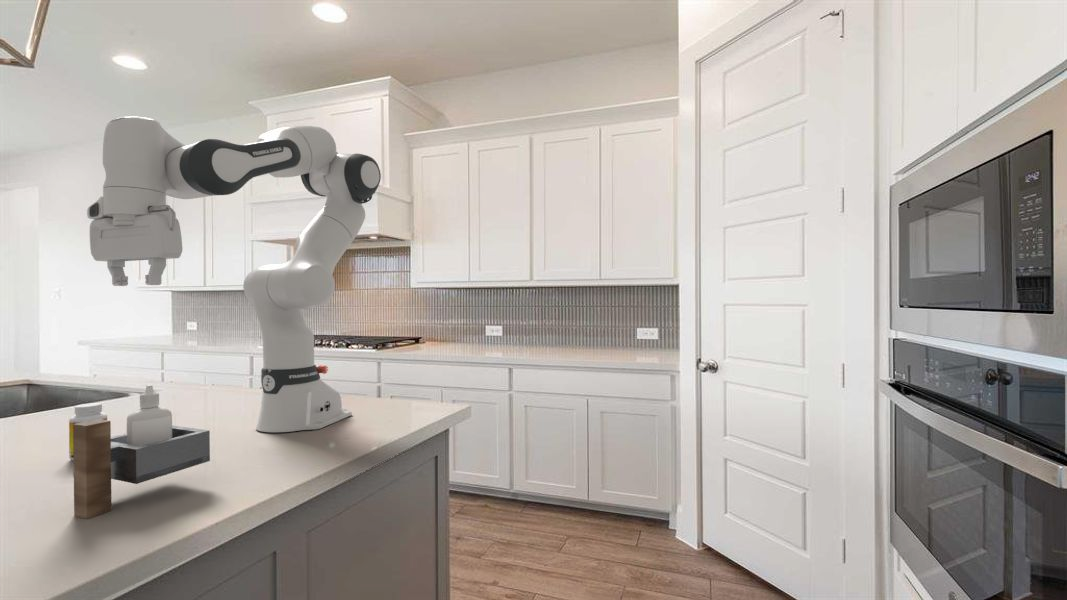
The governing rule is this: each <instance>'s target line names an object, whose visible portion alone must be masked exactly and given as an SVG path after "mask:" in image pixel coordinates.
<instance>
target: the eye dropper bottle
mask: <svg viewBox="0 0 1067 600" xmlns="http://www.w3.org/2000/svg"><path fill="white" fill-rule="evenodd" d="M145 386H146V387H145V390H144V392H143V393H141V394H140V395H139V408H140V409H136V410H134V411H133V412H131V413H129V415H127V416H126V434H127V444H129V445H135V446H143V445H147V444H151V443H155V442H159V441H163V440H167V439H171V438H172V426H173V414H172V411H171V410H170V409H169V408H167V407H162V406H160V393H159V392H157V391H155V390H154V387H153V385H152V384H148V385H145Z"/></svg>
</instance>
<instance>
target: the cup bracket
mask: <svg viewBox="0 0 1067 600" xmlns="http://www.w3.org/2000/svg"><path fill="white" fill-rule="evenodd" d="M111 426H112V425H111V420H108V419H107V420H100V419H97V420H92V421H86V422H81V423H76V424H73V458H74V461H73V517H78V518H83V519H84V520H85V519H86V520H89V519H91V518H93V517H97V516H99V515H103V514H106V513H108V512H111V511H112V507H113V505H112V480H116V481H121V482H123V483H124V482H125V483H129V484H135V485H137V484H141V483H146V482H148V481H150V480H154V479H157V478H160V477H163V476H167V475H169V474H172V473H176V472H180V471H182V470H186V469H189V468H191V467H194V466H198V465H202V464H205V463H208V462H210V461H211V449H210V448H211V443H210V441H211V438H210V437H211V436H210V435H211V434H210V433H211V432H210V430H208V429H200V428H195V427H194V428H193V427H185V426H178V425H172V438H171V439H167V440H163V441H159V442H155V443H151V444H147V445H143V446H135V445H129V444H127V433H122V434H119V435H115V436H111V434H112V433H111V429H112V428H111Z"/></svg>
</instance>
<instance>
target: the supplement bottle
mask: <svg viewBox="0 0 1067 600" xmlns="http://www.w3.org/2000/svg"><path fill="white" fill-rule="evenodd" d="M97 419H100V420H107V421H108V414H107V413H106V412H103V403H101V402H91V403H81V404H78V405H75V406H74V415H72V416H71V417H70V418H69V419H68V425H69V426H68V440H69V441H68V447H69V449H68V450H69V451H68V454H69V455H68V456H69V459H70V461H72V462H74V458H73V424H76V423H81V422H86V421H92V420H97Z"/></svg>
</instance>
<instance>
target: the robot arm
mask: <svg viewBox="0 0 1067 600" xmlns="http://www.w3.org/2000/svg"><path fill="white" fill-rule="evenodd" d="M102 166H103V168H104V172H105V180H104V183H103V186H102V194H103V195H101V196H100V197H99V198H98V200H96V201H95V202H94V203H92V204H91V205H89V206H88V207H87V210H86V215H87V218H88V219H90V220H92V221H91V222H90V224H89V246H90V247H89V248H90V254H91V256H92V258H93V260H94V261H97V262H106V263H107V264H106V265H107V270H108V271H109V274H110V275H111V283H112V285H113V286H114V287H126V286H128V284H129V276H128V275H127V276H126V274H125V270H124V268H125V267H126V262H130V261H133V262H134V261H135V262H137V261H148V265H149V270H148V272H147V273H148V274H145V285H147V286H160V285H162V275H163V273H164V272H165V269H166V267H167V260H168V259H171V260H172V259H173V260H174V259H180V257H181V256H182V253H183V239H182V230H181V225H180V222H179V220H178V219H177V216H176V211H174V209H173V207H171V206H170V205H168V204H167V196H169V197H170V198H171V197H173V198H175V199H180V200H192V199H199V198H200V199H201V198H206V197H213V196H227V195H228V196H229V195H232V194H234V193H236V192H238V191H239V190H240V189H241V188H243V187H244V186H245V185H246V184H247V183H248V182H249V181H250V180H252V179H253V178H255V177H260V176H265V175H268V174H269V175H270V176H272V177H273V178H291V177H292V178H294V177H298V176H300V178H301V179H300V180H301V182H302V184H303V186H304V188H305V189H306V190H307V191H308V192H309V193H310V194H313V195H315V196H318V197H323V198H324V197H326V201H325V203H324V205H323V207H322V208H321V209H320V210H319V211H318V212H317V214H316V215H315V216H314V217H312V219H311V220H310V221H309V223H308V224H307V225H306V226H305V227H304V228H303V230H302V231H301V232H300V233H299V234H298V236H297V237H296V240H295V244H296V251H295V253H294V255H293V256H292V257H291V259H289V260H288V261H286V262H284V263H271V264H270V263H269V264H265V265H262V266H259V267H257V268H255V269H252V270H251V271H250V272H249V273H248V274H247V275H246V277H245V278H244V281H243V287H242V288H243V292H244V295H245V297H246V298H247V300H248V301H249V302H250V303H251V304H252V307H253V308H254V311H255V313H256V317H257V320H258V323H259V327H260V330H261V337H262V359H263V360H262V361H263V362H262V363H263V364H262V365H263V366H262V368H261V372H260V374H261V375H260V376H261V377H260V380H261V381H260V383H261V388H262V396H261V404H260V411H259V416H258V418H257V419H258V420H257V423H256V426H255V430H256V431H259V432H261V433H262V432H264V433H289V432H296V431H308V430H311V431H312V430H319V429H322V428H324V427H326V426H329V425H333V423H336V422H339V421H341V420H344V419H346V418H347V417H351V416H352V415H353V412H352V410H349V409H347V408H346V409H345V408H343V404H342V397H341V394H340V392H338V390H336V389H335V388H333V387H332V386H330V385H329V384H328V383H326V382H325V381H323V380H322V379H321V375H320V374H323V375H324V374H327V373H328V372H329V367H328V365H318V366H317V365H316V364H315V336H314V331H312V329H311V328H310V327H309V325H308V324H307V323H306V320H305V318H304V316H303V311H302V310H308V309H313V308H317V307H321V306H323V305H325V304H327V303H328V302H329V301H330V300H331V299H332V297H333V296H334V293H335V290H336V281H335V278H334V276H333V274H334V271H335V268H336V266H337V264H338V262H339V261H340V260H341V258H342V257H343V255H344V254H345V252H346V251H347V249H348V248H349V247H350V246H351V245H352V242H353V241H354V240H355V239H356V237H357V235H358V233H359V232H360V230H361V228H362V226H363V224H364V222H365V219H366V210H365V208H364V205H363V204H366V203H368V202H370V201H371V200H372V199H373V195H374V194H376V192H377V190H378V188H379V186H380V184H381V179H382V175H381V174H382V173H381V169H380V167H379V164H378V162H377V161H376V160H375V159H374V158H373V157H372V156H369V155H367V154H363V153H339V152H338V151H337V145H336V142H335V139H334V138H333V136H332V134H331V133H330V132H329V131H328V130H326V129H325V128H322V127H320V126H312V125H294V126H285V127H279V128H276V129H272V130H270V131H267V132H265V133H262V134H261V135H259V137H258V138H257V140H256V142H251V143H245V144H236V143H232V142H229V141H225V140H222V139H217V138H207V139H203V140H200V141H197V142H195V143H192V144H189V145H185V144H184V143H182V142H180V141H179V140H177V139H176V138H175V137H173V136H172V135H171V134H169V132H167V131H166V129H164V128H163V126H162V125H161V123H160V122H159V121H157V120H156V119H153V118H149V117H145V116H121V117H118V118H114V119H112V120H110V121H109V122H108V123H107V124H106V127H105V130H104V134H103V143H102Z"/></svg>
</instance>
